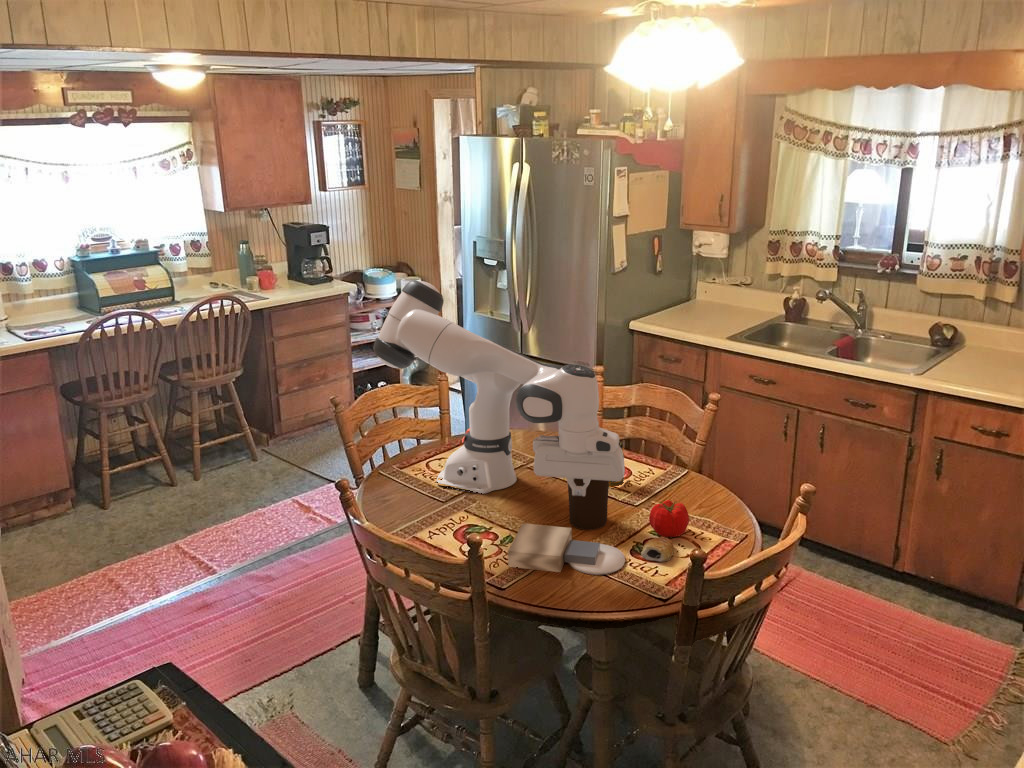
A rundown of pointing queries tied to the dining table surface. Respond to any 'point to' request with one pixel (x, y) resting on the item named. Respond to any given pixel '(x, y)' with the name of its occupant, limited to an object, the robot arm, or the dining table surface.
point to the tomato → (669, 519)
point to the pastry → (658, 549)
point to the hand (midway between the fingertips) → (579, 495)
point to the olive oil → (589, 505)
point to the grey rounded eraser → (582, 552)
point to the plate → (603, 562)
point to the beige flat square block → (539, 547)
